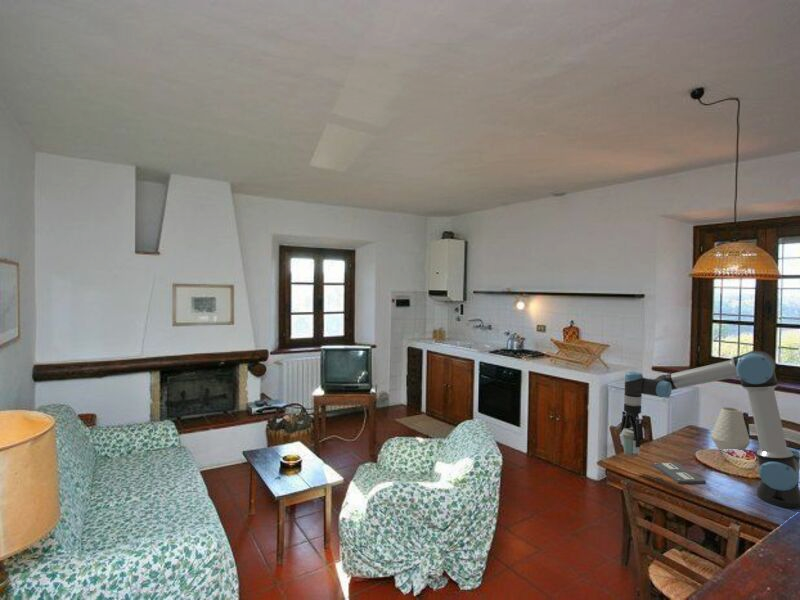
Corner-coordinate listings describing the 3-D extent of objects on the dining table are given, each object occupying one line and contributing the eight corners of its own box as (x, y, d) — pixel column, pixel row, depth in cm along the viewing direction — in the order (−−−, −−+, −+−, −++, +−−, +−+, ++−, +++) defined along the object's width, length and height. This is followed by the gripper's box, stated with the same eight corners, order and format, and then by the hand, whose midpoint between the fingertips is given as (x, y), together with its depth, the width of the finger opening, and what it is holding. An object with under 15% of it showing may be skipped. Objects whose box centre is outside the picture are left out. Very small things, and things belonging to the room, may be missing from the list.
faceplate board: (705, 483, 205) (705, 479, 205) (678, 483, 205) (678, 480, 205) (677, 465, 225) (677, 462, 225) (652, 465, 225) (652, 462, 224)
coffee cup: (643, 458, 213) (644, 434, 212) (623, 457, 214) (624, 432, 214) (637, 452, 221) (638, 428, 221) (618, 450, 223) (619, 427, 222)
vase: (747, 459, 233) (749, 416, 232) (707, 450, 245) (709, 409, 244) (751, 450, 246) (753, 409, 245) (713, 442, 258) (715, 403, 257)
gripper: (653, 410, 206) (651, 458, 207) (628, 398, 227) (626, 441, 228) (637, 410, 206) (635, 458, 207) (613, 398, 227) (612, 441, 228)
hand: (630, 449), depth 218 cm, fingers closed on coffee cup, 8 cm apart
